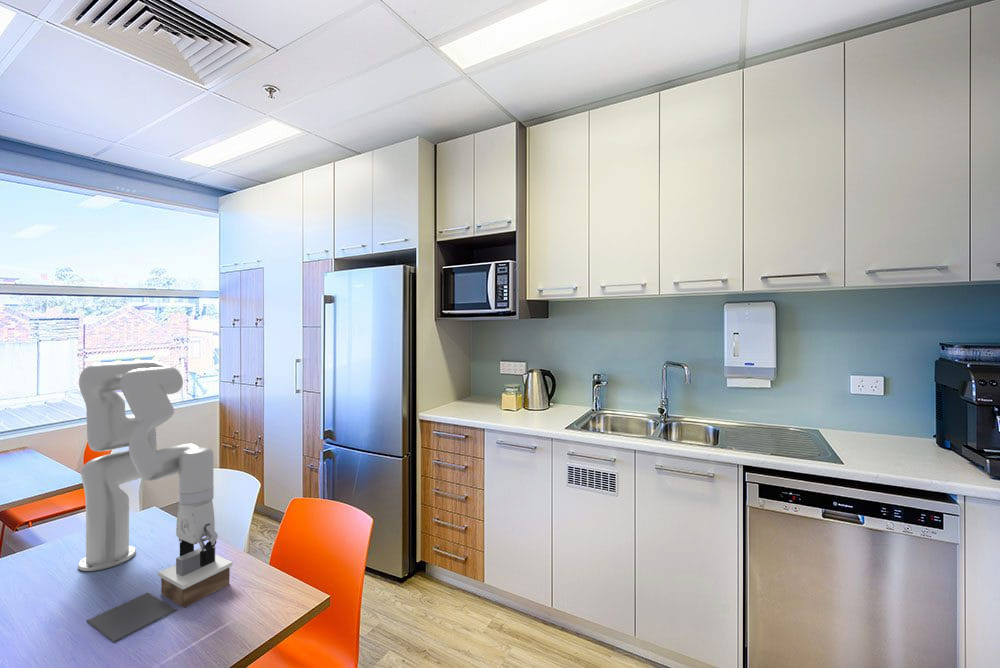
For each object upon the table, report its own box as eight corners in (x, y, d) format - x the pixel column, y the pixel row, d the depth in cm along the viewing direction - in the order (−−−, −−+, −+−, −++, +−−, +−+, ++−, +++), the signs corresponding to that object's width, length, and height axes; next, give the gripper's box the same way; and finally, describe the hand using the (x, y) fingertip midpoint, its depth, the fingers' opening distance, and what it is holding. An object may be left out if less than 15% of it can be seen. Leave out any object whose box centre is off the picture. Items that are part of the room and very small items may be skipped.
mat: (86, 621, 100) (86, 620, 100) (147, 593, 110) (147, 592, 110) (114, 642, 93) (114, 640, 93) (176, 610, 104) (176, 609, 104)
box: (161, 594, 110) (161, 575, 110) (206, 573, 120) (206, 555, 120) (184, 607, 105) (184, 587, 105) (229, 584, 115) (229, 566, 115)
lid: (158, 576, 110) (158, 557, 110) (207, 554, 120) (207, 537, 120) (182, 589, 104) (182, 569, 104) (232, 565, 115) (232, 547, 115)
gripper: (163, 494, 113) (163, 558, 113) (199, 507, 105) (199, 575, 105) (194, 485, 119) (194, 545, 119) (230, 496, 111) (230, 560, 111)
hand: (196, 559), depth 112 cm, fingers open, 9 cm apart
